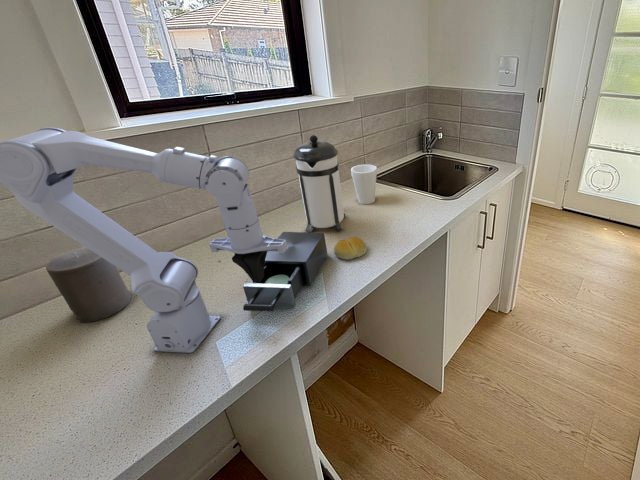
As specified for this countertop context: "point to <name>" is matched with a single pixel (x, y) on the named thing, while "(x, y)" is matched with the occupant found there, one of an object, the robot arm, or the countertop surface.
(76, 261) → the pillar candle
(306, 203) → the coffee press
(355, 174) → the foam cup
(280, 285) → the dish drawer
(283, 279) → the green short cylinder
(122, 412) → the countertop surface
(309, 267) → the drawer cabinet
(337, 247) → the bread roll
